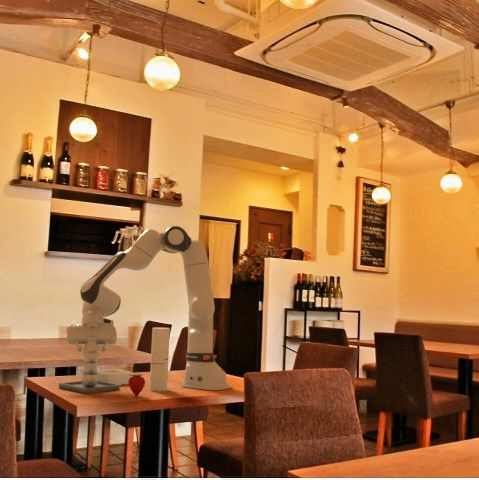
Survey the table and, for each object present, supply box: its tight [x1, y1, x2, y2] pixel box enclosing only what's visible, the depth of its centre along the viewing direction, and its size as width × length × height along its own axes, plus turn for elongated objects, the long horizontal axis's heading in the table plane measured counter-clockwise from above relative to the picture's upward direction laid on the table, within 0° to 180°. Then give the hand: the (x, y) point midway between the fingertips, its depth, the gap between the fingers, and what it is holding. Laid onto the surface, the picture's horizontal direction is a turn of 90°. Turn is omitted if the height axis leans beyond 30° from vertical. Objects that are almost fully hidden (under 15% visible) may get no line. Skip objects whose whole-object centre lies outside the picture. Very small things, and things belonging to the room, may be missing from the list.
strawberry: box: [128, 370, 146, 397], centre depth 210 cm, size 6×8×10 cm
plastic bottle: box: [81, 336, 100, 387], centre depth 224 cm, size 6×7×20 cm
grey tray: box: [58, 380, 121, 395], centre depth 223 cm, size 18×16×2 cm
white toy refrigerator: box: [148, 327, 171, 392], centre depth 228 cm, size 7×7×25 cm
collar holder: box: [97, 368, 132, 386], centre depth 240 cm, size 12×12×5 cm
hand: (91, 350), depth 225 cm, fingers open, 8 cm apart
